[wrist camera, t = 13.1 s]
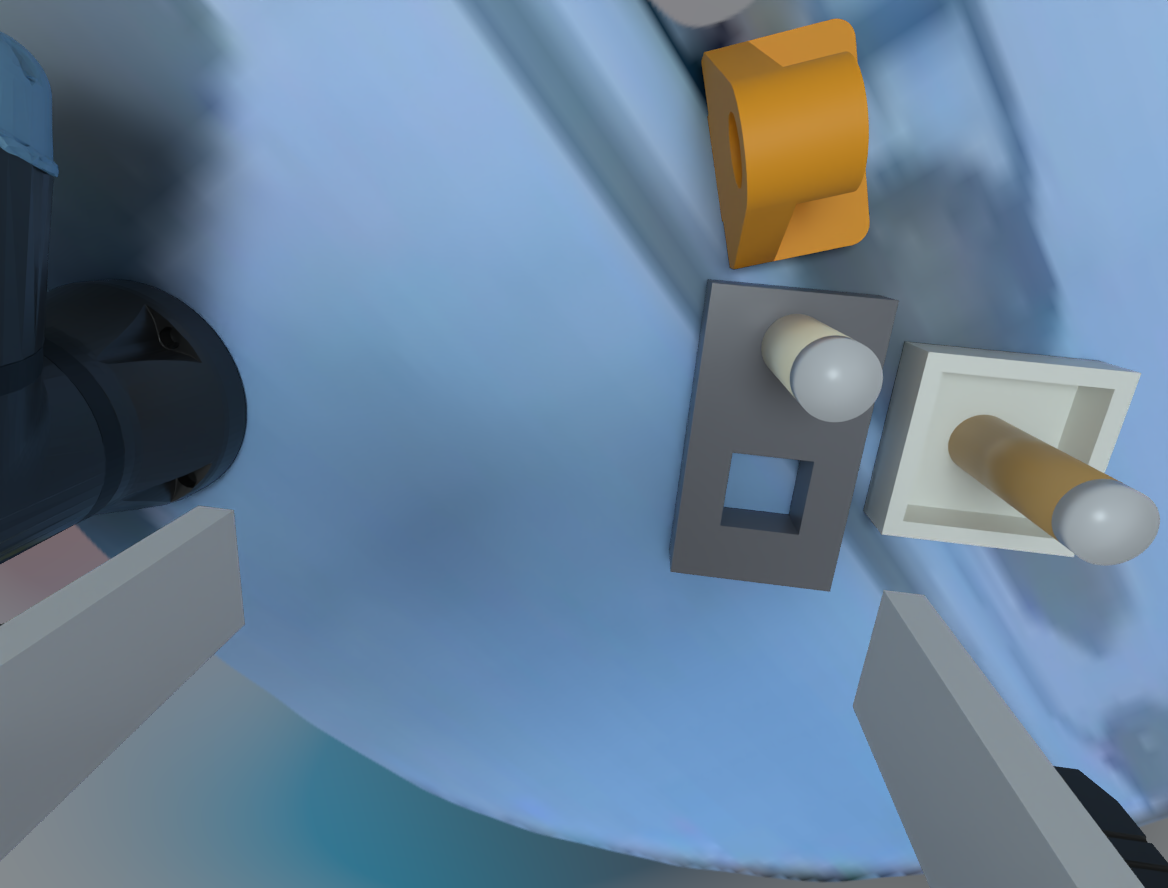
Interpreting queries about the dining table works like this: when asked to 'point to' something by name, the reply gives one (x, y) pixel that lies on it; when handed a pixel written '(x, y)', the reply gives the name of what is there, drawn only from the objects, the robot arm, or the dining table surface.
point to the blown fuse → (1056, 491)
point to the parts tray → (1002, 389)
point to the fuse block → (778, 427)
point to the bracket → (789, 142)
